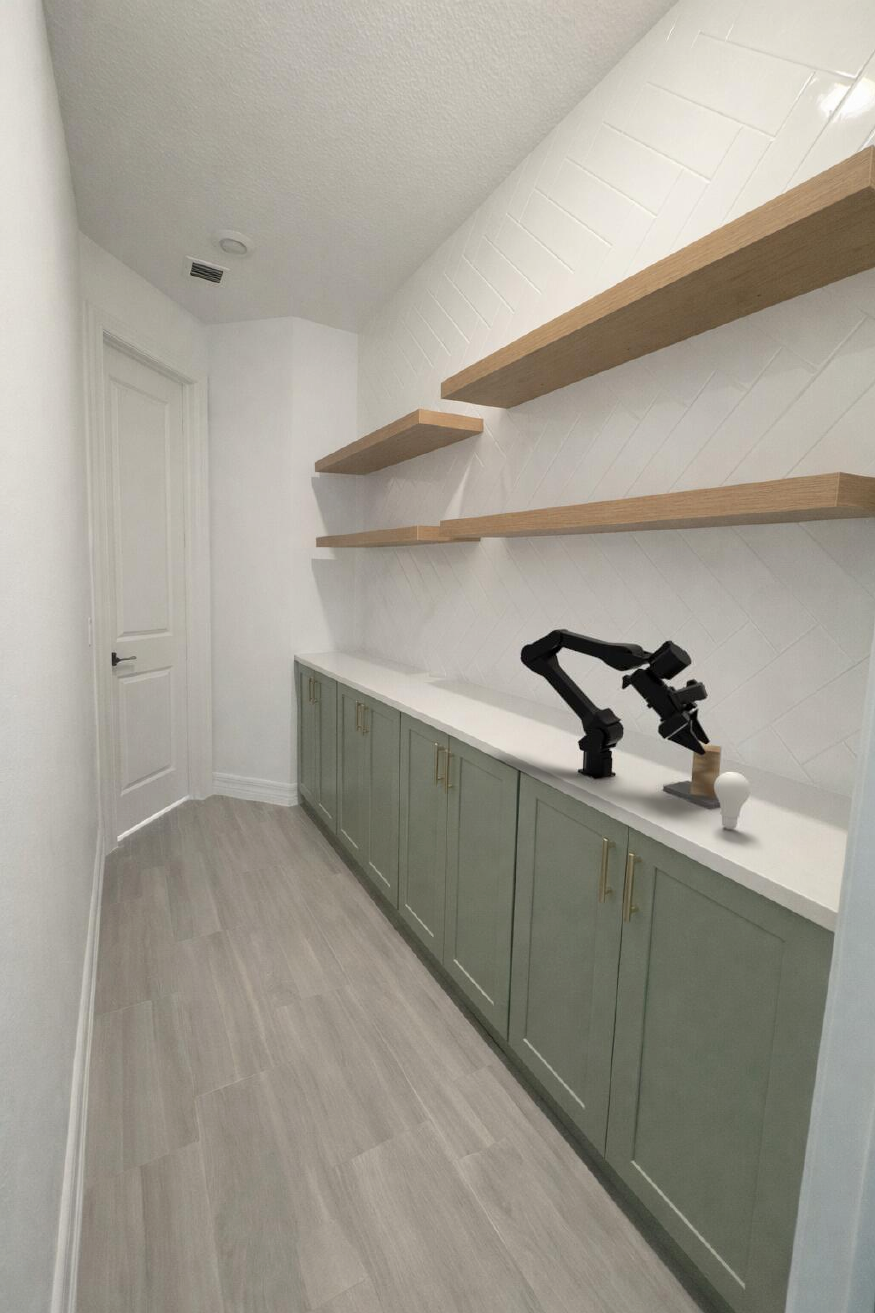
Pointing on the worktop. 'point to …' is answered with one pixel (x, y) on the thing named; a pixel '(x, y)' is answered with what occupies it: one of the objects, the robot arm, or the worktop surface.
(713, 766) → the oak block
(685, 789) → the charcoal mat
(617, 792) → the worktop surface
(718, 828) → the worktop surface
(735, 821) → the lightbulb
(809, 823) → the worktop surface
